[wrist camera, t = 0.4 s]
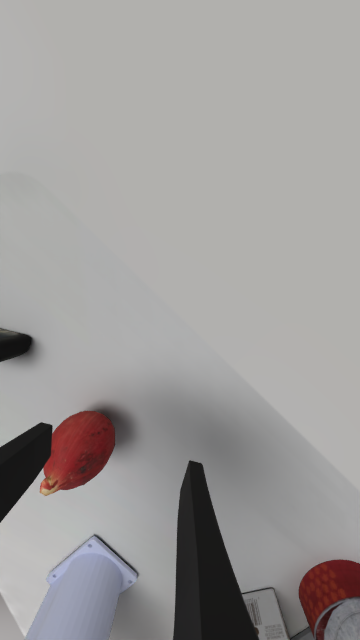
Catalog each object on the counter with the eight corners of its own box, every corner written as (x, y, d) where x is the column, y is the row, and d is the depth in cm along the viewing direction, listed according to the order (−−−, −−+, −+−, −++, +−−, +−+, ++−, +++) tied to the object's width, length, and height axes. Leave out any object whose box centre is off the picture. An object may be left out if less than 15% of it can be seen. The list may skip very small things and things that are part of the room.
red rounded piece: (124, 396, 20) (83, 459, 12) (126, 442, 21) (88, 530, 13) (75, 395, 20) (4, 455, 12) (78, 440, 21) (12, 525, 13)
